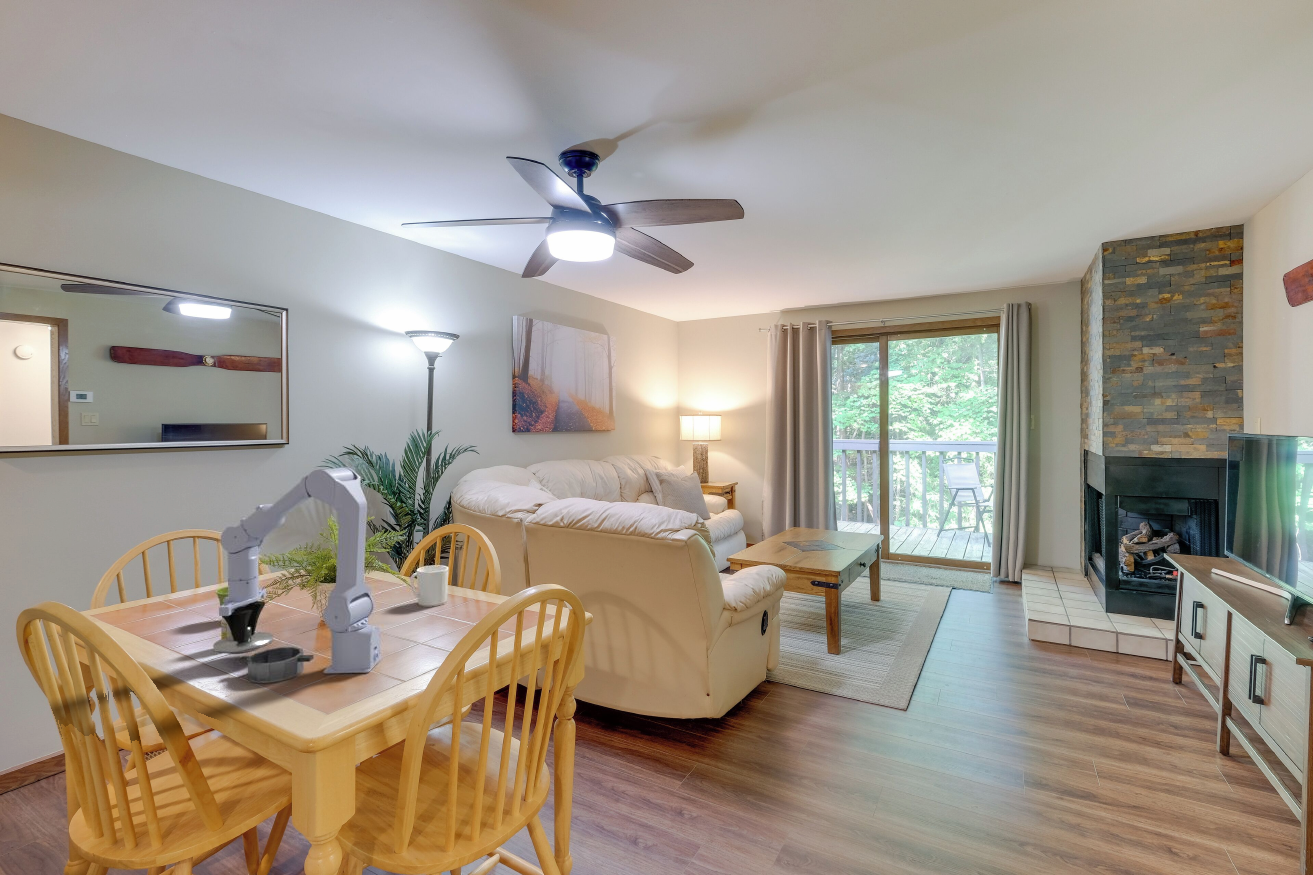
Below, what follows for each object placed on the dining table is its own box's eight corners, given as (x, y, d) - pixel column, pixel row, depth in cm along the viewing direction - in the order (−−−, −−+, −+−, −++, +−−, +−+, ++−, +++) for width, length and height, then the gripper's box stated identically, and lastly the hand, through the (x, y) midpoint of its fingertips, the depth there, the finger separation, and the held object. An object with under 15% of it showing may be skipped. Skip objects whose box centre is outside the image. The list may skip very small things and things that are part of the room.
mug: (441, 597, 190) (441, 563, 189) (453, 603, 183) (453, 569, 183) (404, 603, 182) (404, 569, 182) (416, 610, 176) (416, 575, 175)
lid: (283, 639, 144) (282, 618, 144) (255, 657, 133) (255, 635, 133) (232, 639, 143) (232, 619, 143) (201, 658, 132) (201, 636, 132)
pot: (322, 663, 137) (322, 645, 137) (300, 682, 127) (300, 663, 127) (253, 665, 136) (253, 647, 135) (225, 684, 126) (225, 665, 126)
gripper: (243, 570, 145) (244, 627, 145) (203, 586, 130) (204, 650, 131) (274, 569, 145) (275, 626, 146) (238, 586, 131) (239, 649, 131)
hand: (244, 637), depth 138 cm, fingers closed on lid, 3 cm apart
